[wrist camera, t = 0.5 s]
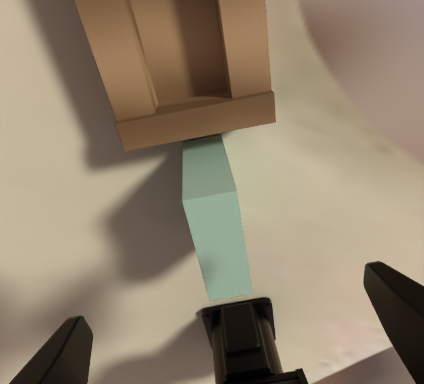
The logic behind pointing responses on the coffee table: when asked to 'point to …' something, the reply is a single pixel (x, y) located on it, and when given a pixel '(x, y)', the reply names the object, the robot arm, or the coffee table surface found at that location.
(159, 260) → the coffee table surface
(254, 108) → the track
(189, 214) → the pale green block
